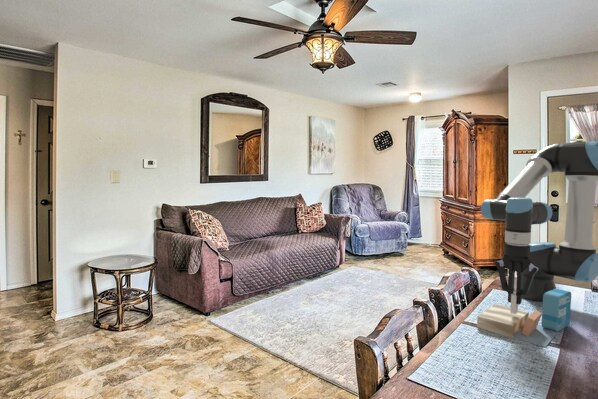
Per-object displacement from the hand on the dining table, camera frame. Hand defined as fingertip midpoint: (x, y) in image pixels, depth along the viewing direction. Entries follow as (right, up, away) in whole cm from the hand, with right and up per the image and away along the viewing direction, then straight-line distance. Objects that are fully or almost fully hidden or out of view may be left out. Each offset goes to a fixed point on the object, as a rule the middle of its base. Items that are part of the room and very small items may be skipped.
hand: (514, 312), depth 126 cm
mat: (+5, -6, -5) cm, 9 cm away
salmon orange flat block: (+3, -2, -3) cm, 5 cm away
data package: (+15, -5, +1) cm, 16 cm away
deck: (-2, -5, +3) cm, 6 cm away
